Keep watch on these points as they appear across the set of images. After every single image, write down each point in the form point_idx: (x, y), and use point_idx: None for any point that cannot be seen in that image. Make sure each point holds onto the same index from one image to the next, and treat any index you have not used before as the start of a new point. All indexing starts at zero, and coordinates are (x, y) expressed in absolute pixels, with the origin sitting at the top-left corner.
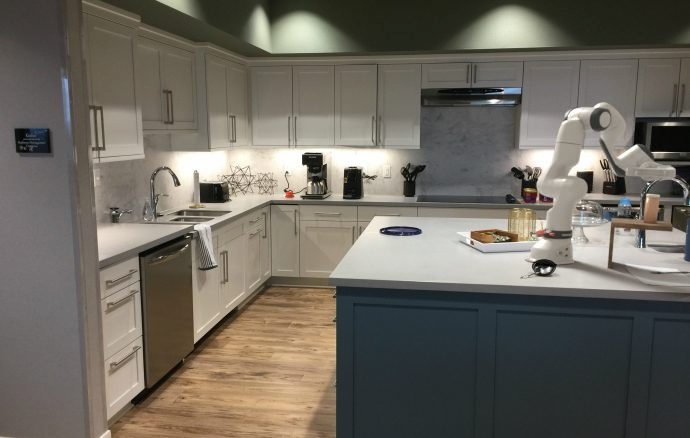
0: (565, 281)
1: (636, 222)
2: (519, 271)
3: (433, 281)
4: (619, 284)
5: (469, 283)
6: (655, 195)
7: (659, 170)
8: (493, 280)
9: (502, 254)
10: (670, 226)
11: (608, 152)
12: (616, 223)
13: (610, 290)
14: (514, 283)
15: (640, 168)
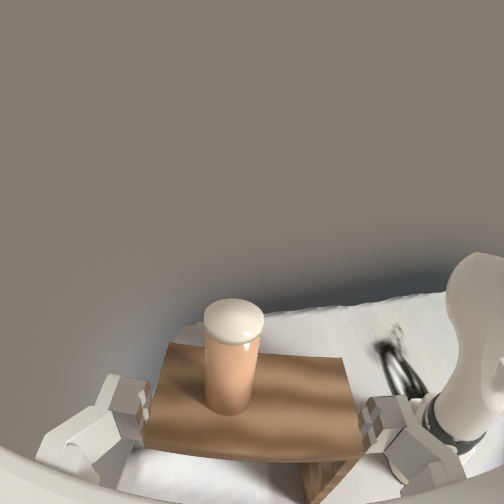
0: (346, 330)
1: (272, 386)
2: (419, 352)
3: (445, 292)
4: (273, 337)
5: (421, 295)
6: (227, 299)
7: (128, 495)
8: (413, 309)
9: (500, 434)
10: (174, 347)
11: None
12: (327, 358)
13: (283, 311)
14: (390, 306)
15: (425, 500)
